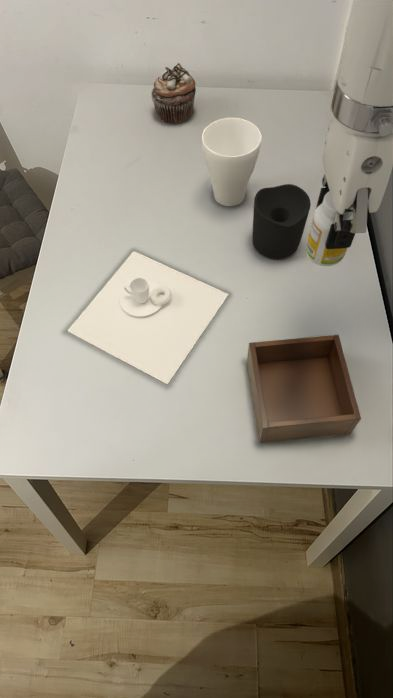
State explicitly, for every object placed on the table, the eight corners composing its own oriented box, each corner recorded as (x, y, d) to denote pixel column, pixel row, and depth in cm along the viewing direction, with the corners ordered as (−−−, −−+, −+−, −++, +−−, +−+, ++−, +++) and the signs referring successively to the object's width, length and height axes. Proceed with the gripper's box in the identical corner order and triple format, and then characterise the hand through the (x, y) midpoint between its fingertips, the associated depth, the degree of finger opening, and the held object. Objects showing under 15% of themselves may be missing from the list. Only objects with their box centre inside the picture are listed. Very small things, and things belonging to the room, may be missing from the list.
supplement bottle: (350, 247, 70) (370, 194, 61) (334, 273, 68) (351, 222, 59) (315, 232, 71) (330, 178, 63) (298, 257, 69) (310, 205, 61)
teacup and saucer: (177, 293, 87) (176, 279, 84) (152, 327, 84) (150, 313, 80) (136, 274, 89) (132, 259, 86) (110, 306, 86) (106, 292, 83)
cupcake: (177, 94, 115) (175, 50, 106) (204, 114, 111) (204, 70, 102) (144, 111, 112) (139, 67, 103) (171, 132, 108) (167, 89, 100)
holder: (330, 354, 80) (338, 334, 75) (350, 434, 74) (361, 418, 68) (246, 361, 80) (249, 342, 75) (259, 442, 74) (263, 428, 68)
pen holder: (288, 269, 89) (296, 230, 80) (241, 250, 92) (244, 210, 83) (309, 234, 93) (319, 193, 84) (263, 217, 96) (268, 175, 87)
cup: (264, 205, 97) (272, 147, 85) (215, 221, 95) (215, 163, 84) (242, 171, 102) (246, 111, 90) (194, 185, 100) (192, 126, 88)
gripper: (434, 156, 45) (377, 278, 61) (386, 49, 54) (346, 181, 70) (353, 162, 45) (316, 283, 61) (317, 53, 54) (293, 184, 70)
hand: (332, 227), depth 65 cm, fingers closed on supplement bottle, 5 cm apart
